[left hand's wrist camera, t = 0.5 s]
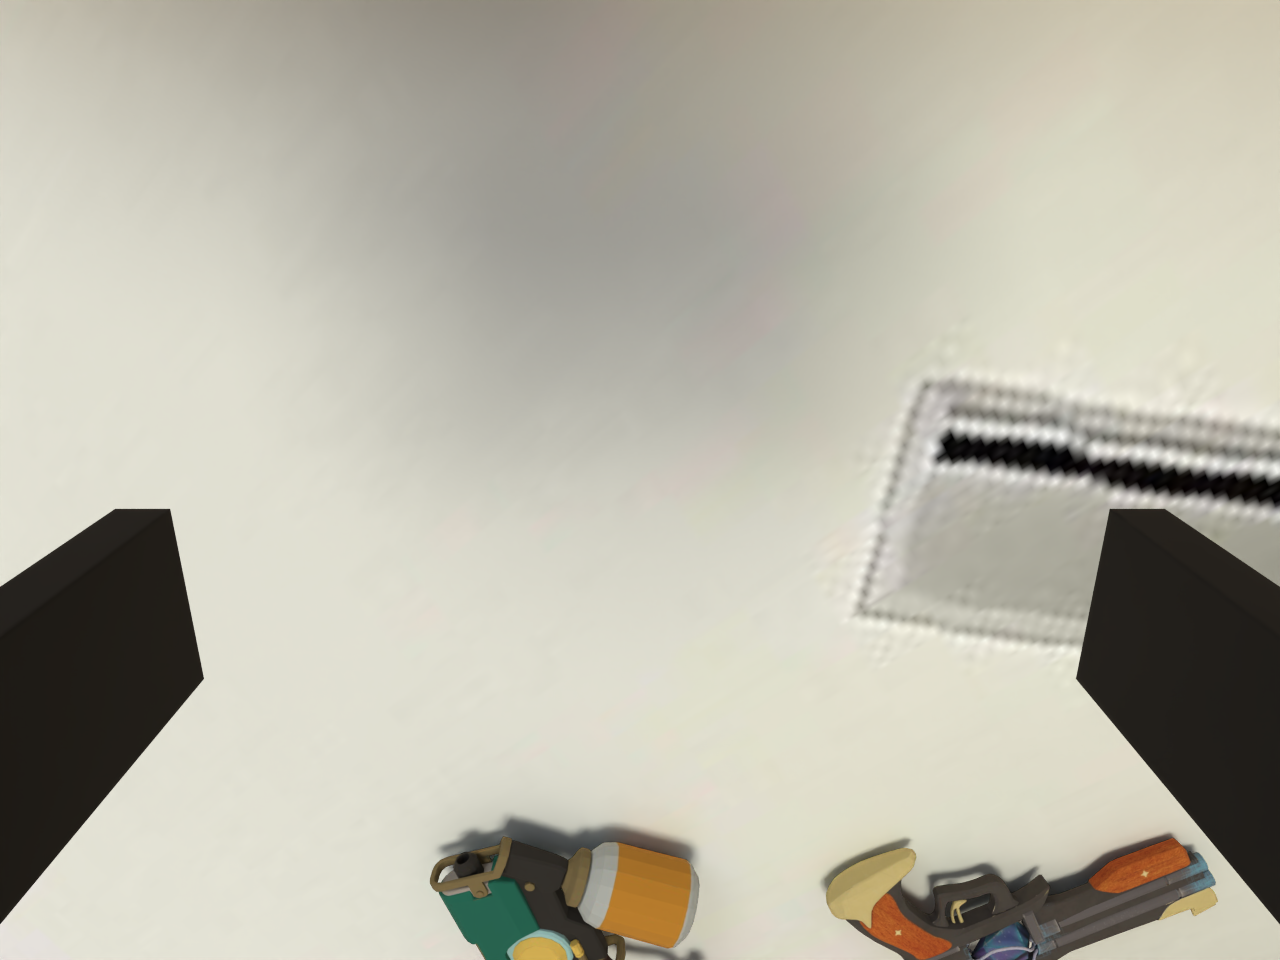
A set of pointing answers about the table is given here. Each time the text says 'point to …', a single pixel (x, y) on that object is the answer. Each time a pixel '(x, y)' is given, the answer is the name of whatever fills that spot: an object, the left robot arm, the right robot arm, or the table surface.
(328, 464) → the table surface
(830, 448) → the table surface
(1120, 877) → the toy gun
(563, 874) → the spray gun
